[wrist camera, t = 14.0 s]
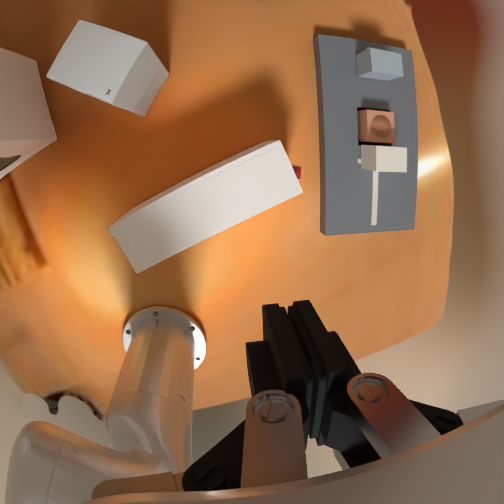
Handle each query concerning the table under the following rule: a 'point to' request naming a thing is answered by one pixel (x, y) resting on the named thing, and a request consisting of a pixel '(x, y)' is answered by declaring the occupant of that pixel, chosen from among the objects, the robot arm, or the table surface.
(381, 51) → the blue-grey slider
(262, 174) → the cigarette display
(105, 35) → the small box
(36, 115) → the gable box
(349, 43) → the panel
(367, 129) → the terracotta button
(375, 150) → the cream slider
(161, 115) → the table surface
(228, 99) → the table surface
